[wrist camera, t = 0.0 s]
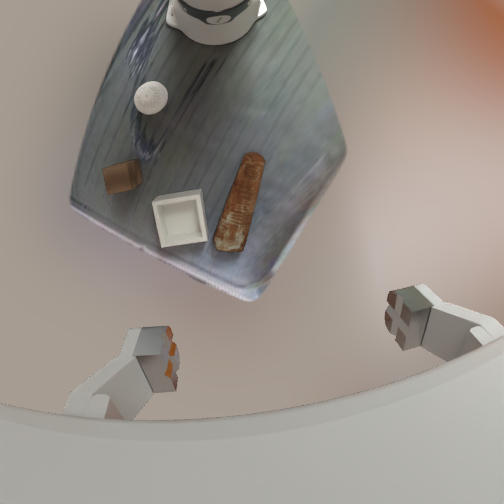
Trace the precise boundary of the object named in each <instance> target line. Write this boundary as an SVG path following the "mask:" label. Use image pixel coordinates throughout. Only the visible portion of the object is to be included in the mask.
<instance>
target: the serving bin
mask: <svg viewBox="0 0 504 504" xmlns="http://www.w3.org/2000/svg"><path fill="white" fill-rule="evenodd" d="M152 206H153V211H154V216H155V221H156V225H157V230H158V234H159V239H160V243H161V247H169V246H176V245H183V244H190V243H197V242H204V241H208V234H209V231H208V225H207V218H206V212H205V206H204V200H203V193H202V189H196V190H190V191H183V192H177V193H171V194H165V195H160V196H157V197H156V198H155V199H154V200H153V201H152Z"/></svg>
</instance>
